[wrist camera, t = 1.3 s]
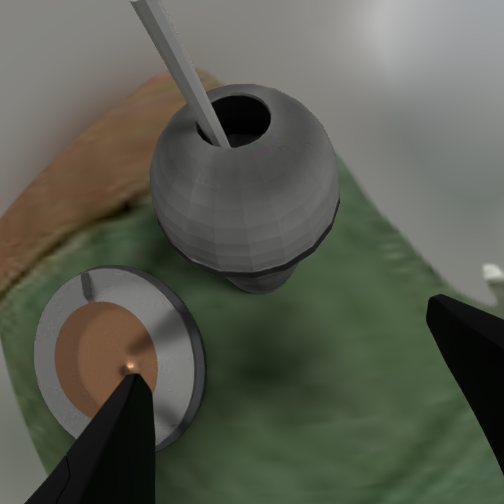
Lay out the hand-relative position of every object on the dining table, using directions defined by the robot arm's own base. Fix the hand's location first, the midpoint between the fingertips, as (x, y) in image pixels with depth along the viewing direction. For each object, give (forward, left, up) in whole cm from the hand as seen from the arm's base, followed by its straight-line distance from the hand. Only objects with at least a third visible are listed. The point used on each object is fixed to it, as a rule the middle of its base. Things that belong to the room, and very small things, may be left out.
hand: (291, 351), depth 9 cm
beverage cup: (+6, 0, -13) cm, 15 cm away
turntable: (+2, +13, -13) cm, 18 cm away
